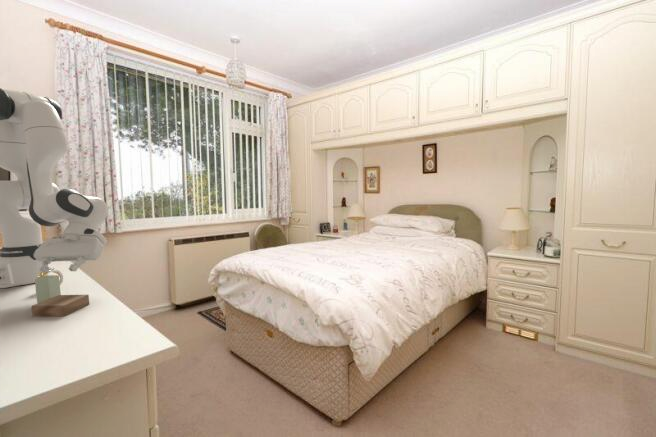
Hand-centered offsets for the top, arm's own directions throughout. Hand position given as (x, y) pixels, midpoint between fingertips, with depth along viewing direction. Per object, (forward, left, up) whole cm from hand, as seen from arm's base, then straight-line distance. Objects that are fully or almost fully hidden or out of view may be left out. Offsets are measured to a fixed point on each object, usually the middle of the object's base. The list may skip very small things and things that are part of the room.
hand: (57, 270), depth 102 cm
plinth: (+9, -10, -9) cm, 17 cm away
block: (-1, -3, -9) cm, 10 cm away
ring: (-11, +9, -9) cm, 16 cm away
